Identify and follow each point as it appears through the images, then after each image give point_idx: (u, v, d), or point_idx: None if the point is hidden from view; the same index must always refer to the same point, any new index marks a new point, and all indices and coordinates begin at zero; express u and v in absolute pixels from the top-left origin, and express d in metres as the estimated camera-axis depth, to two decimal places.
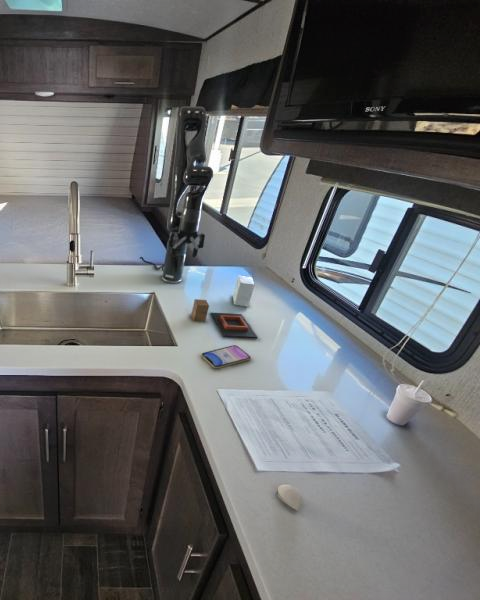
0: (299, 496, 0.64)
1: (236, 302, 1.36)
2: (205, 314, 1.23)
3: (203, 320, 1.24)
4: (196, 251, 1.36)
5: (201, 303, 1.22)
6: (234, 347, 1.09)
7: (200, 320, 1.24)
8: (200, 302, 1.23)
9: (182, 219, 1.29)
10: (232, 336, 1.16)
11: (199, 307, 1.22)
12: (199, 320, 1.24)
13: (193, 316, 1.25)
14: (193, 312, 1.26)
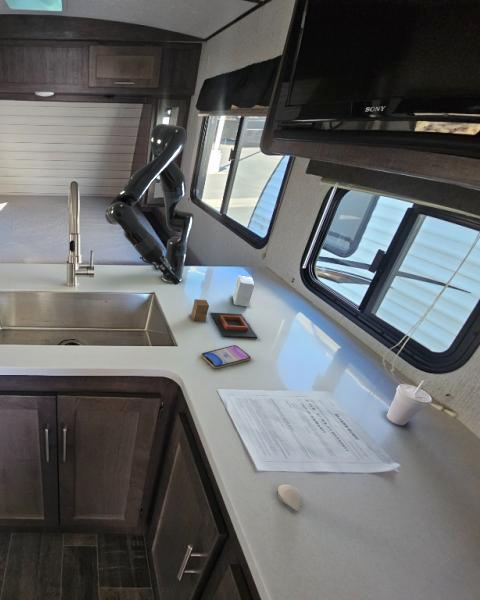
0: (299, 496, 0.64)
1: (236, 302, 1.36)
2: (205, 314, 1.23)
3: (203, 320, 1.24)
4: (171, 279, 1.14)
5: (201, 303, 1.22)
6: (234, 347, 1.09)
7: (200, 320, 1.24)
8: (200, 302, 1.23)
9: None
10: (232, 336, 1.16)
11: (199, 307, 1.22)
12: (199, 320, 1.24)
13: (193, 316, 1.25)
14: (193, 312, 1.26)
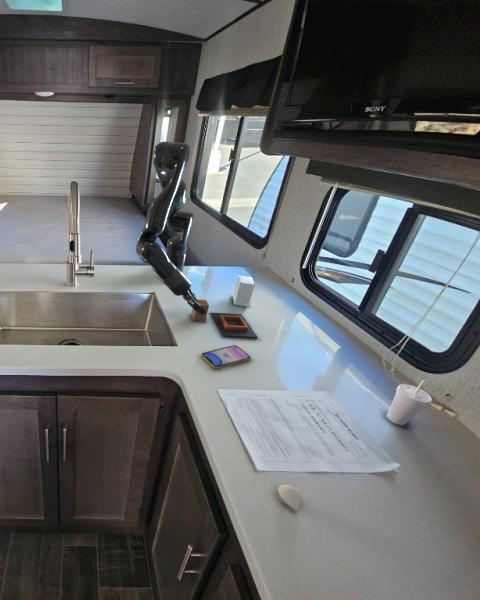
0: (299, 496, 0.64)
1: (236, 302, 1.36)
2: (205, 314, 1.23)
3: (203, 320, 1.24)
4: (198, 310, 1.21)
5: (201, 303, 1.22)
6: (234, 347, 1.09)
7: (200, 320, 1.24)
8: (200, 302, 1.23)
9: None
10: (232, 336, 1.16)
11: None
12: (199, 320, 1.24)
13: (193, 316, 1.25)
14: (193, 312, 1.26)
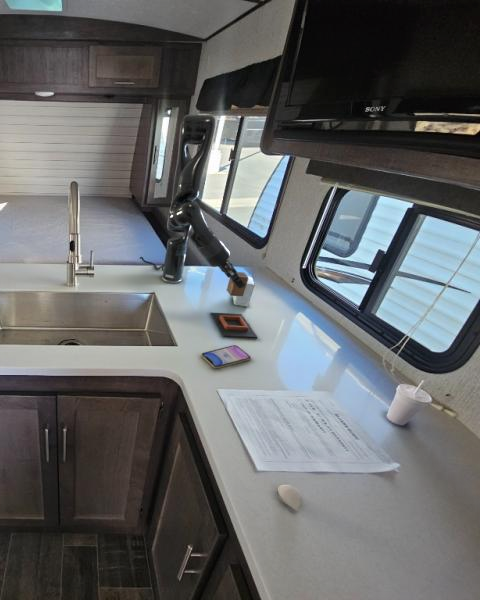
0: (299, 496, 0.64)
1: (236, 302, 1.36)
2: (243, 287, 1.13)
3: (241, 294, 1.14)
4: (236, 283, 1.11)
5: (239, 275, 1.12)
6: (234, 347, 1.09)
7: (237, 294, 1.14)
8: (238, 274, 1.13)
9: None
10: (232, 336, 1.16)
11: None
12: (236, 294, 1.14)
13: (230, 290, 1.15)
14: (230, 286, 1.16)
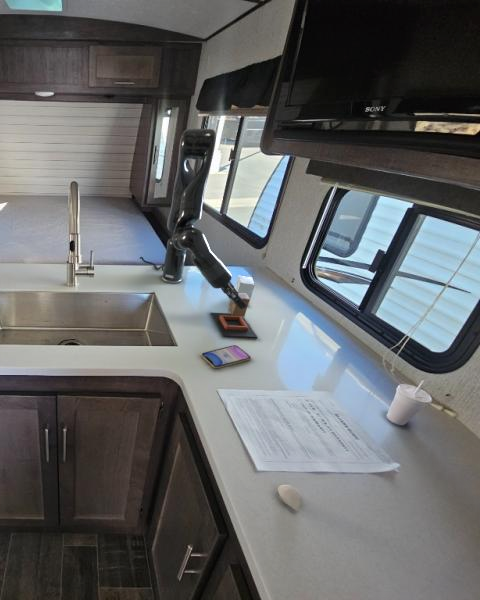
0: (299, 496, 0.64)
1: None
2: (245, 308, 1.16)
3: (242, 315, 1.17)
4: (238, 304, 1.14)
5: (241, 296, 1.15)
6: (234, 347, 1.09)
7: (239, 315, 1.17)
8: (240, 295, 1.16)
9: None
10: (232, 336, 1.16)
11: None
12: (238, 315, 1.17)
13: (231, 310, 1.18)
14: (231, 306, 1.19)
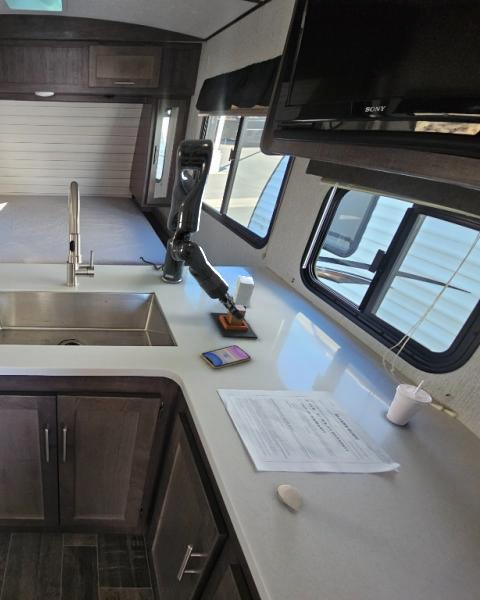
0: (299, 496, 0.64)
1: (236, 302, 1.36)
2: (241, 320, 1.18)
3: None
4: (235, 315, 1.15)
5: (237, 308, 1.18)
6: (234, 347, 1.09)
7: None
8: None
9: None
10: (232, 336, 1.16)
11: None
12: None
13: (228, 322, 1.21)
14: (228, 317, 1.21)
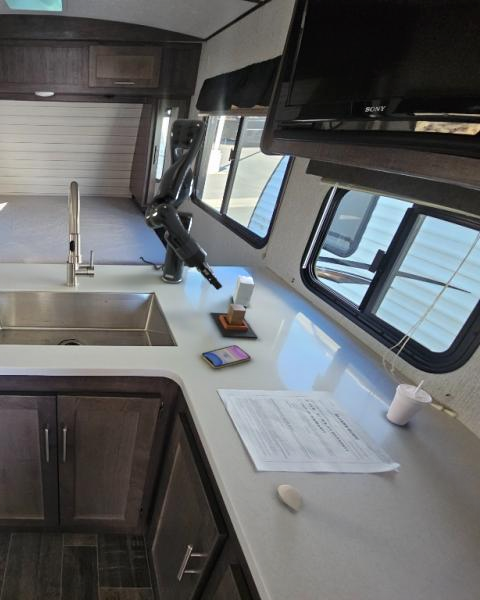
0: (299, 496, 0.64)
1: (236, 302, 1.36)
2: (241, 320, 1.18)
3: None
4: (214, 284, 1.10)
5: (237, 308, 1.18)
6: (234, 347, 1.09)
7: None
8: (236, 307, 1.18)
9: None
10: (232, 336, 1.16)
11: (235, 312, 1.17)
12: None
13: (228, 322, 1.21)
14: (228, 317, 1.21)
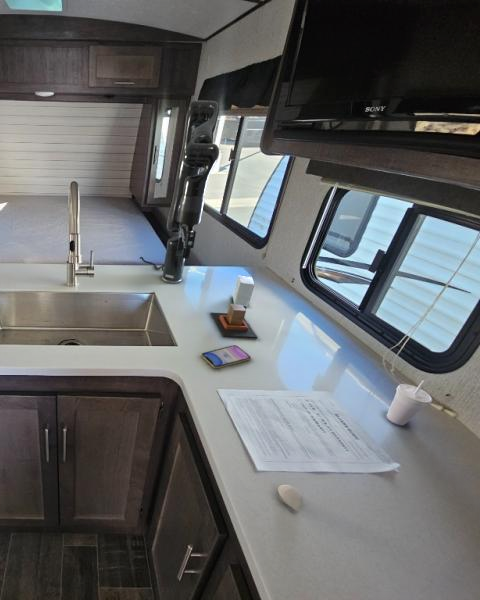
0: (299, 496, 0.64)
1: (236, 302, 1.36)
2: (241, 320, 1.18)
3: None
4: (184, 251, 1.11)
5: (237, 308, 1.18)
6: (234, 347, 1.09)
7: None
8: (236, 307, 1.18)
9: None
10: (232, 336, 1.16)
11: (235, 312, 1.17)
12: None
13: (228, 322, 1.21)
14: (228, 317, 1.21)
